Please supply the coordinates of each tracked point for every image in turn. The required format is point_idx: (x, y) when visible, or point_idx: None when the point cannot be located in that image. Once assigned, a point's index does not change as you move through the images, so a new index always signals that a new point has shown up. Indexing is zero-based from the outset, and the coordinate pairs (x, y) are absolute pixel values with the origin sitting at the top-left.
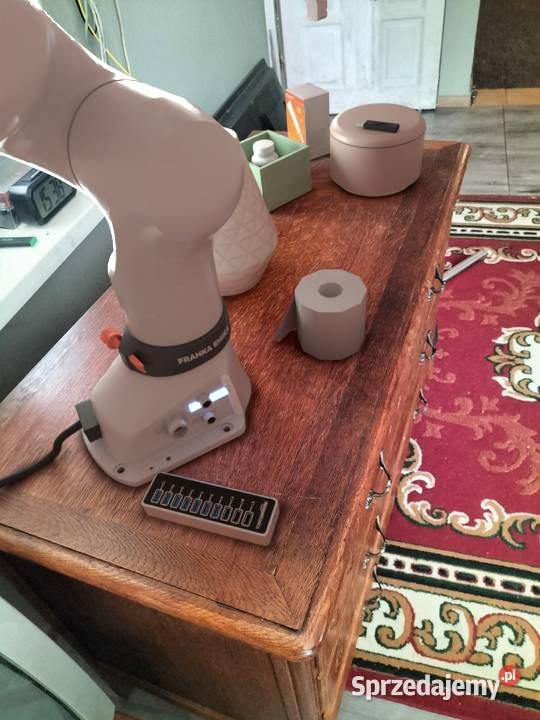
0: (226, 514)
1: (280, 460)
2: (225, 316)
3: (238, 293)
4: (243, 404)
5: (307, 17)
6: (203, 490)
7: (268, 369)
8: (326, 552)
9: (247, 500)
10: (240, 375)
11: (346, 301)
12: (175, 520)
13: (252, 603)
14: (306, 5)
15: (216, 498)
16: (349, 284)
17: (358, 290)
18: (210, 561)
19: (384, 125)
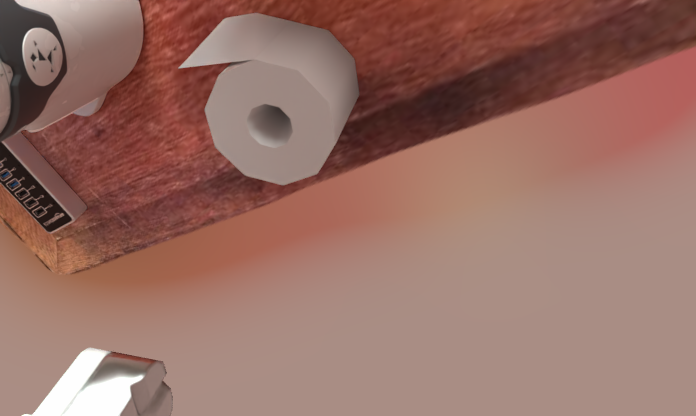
0: (23, 192)
1: (116, 170)
2: (8, 135)
3: None
4: (101, 93)
5: (85, 351)
6: (7, 158)
7: (179, 51)
8: (107, 260)
9: (46, 199)
10: (96, 83)
11: (268, 166)
12: None
13: (31, 241)
14: (49, 394)
15: (18, 174)
16: (306, 142)
17: (305, 164)
18: (8, 193)
19: None
